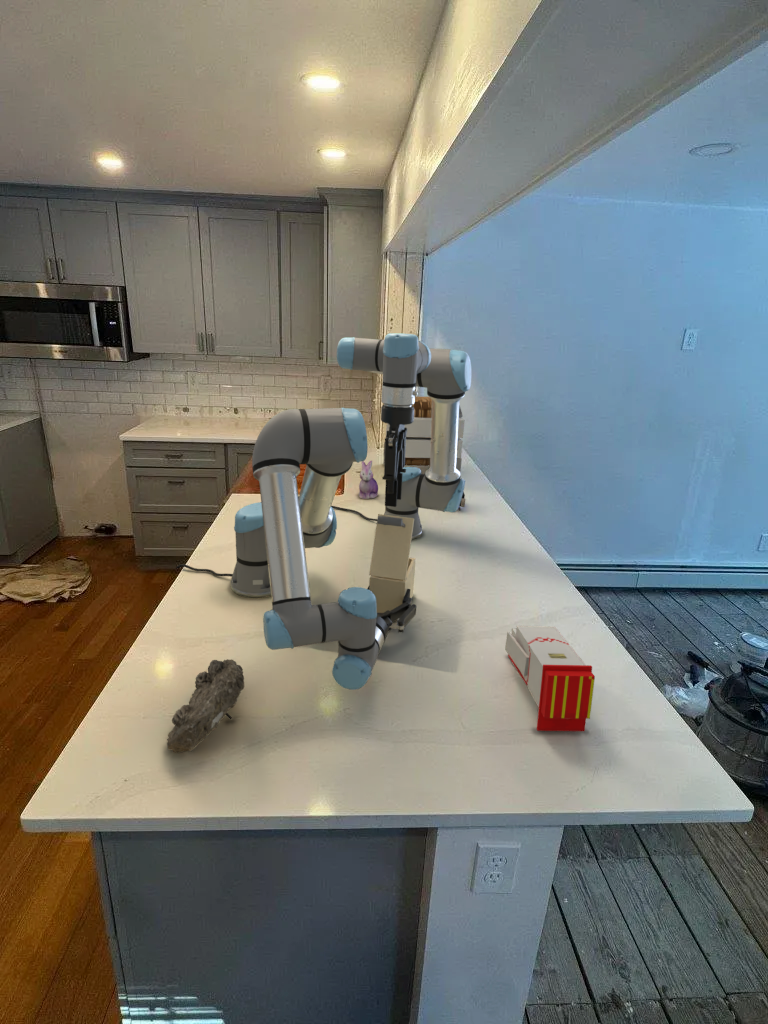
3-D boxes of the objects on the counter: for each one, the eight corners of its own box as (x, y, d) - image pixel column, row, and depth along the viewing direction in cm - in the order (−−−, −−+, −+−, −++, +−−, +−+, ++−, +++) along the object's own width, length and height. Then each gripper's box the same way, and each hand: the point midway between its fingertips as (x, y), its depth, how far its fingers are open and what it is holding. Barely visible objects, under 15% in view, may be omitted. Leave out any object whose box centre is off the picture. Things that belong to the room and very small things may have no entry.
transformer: (382, 463, 289) (386, 382, 275) (445, 464, 293) (451, 384, 279) (390, 482, 257) (394, 392, 243) (460, 483, 261) (468, 394, 247)
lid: (379, 514, 144) (371, 509, 135) (414, 518, 142) (409, 513, 134) (370, 575, 142) (362, 573, 133) (405, 580, 140) (400, 579, 132)
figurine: (363, 500, 232) (364, 465, 227) (352, 493, 240) (353, 459, 235) (383, 498, 236) (385, 463, 231) (372, 491, 244) (373, 457, 239)
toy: (551, 610, 133) (604, 672, 104) (546, 663, 136) (596, 738, 106) (500, 609, 132) (538, 671, 103) (496, 662, 135) (532, 737, 106)
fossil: (192, 660, 117) (244, 628, 112) (224, 691, 120) (276, 661, 115) (142, 746, 98) (202, 712, 93) (182, 779, 101) (242, 748, 96)
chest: (381, 589, 159) (382, 553, 155) (413, 594, 157) (415, 558, 153) (368, 616, 146) (369, 577, 142) (403, 621, 144) (405, 582, 140)
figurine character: (465, 515, 224) (460, 499, 237) (467, 498, 221) (462, 483, 234) (448, 515, 224) (444, 499, 237) (450, 498, 220) (445, 482, 234)
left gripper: (321, 643, 129) (348, 597, 150) (415, 659, 125) (430, 609, 146) (321, 614, 127) (349, 572, 147) (417, 629, 122) (432, 583, 143)
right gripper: (406, 412, 119) (401, 516, 127) (420, 400, 136) (414, 492, 144) (372, 409, 121) (368, 512, 129) (390, 398, 137) (386, 489, 145)
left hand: (389, 590), depth 146 cm, fingers closed on chest, 9 cm apart
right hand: (393, 502), depth 136 cm, fingers open, 5 cm apart
